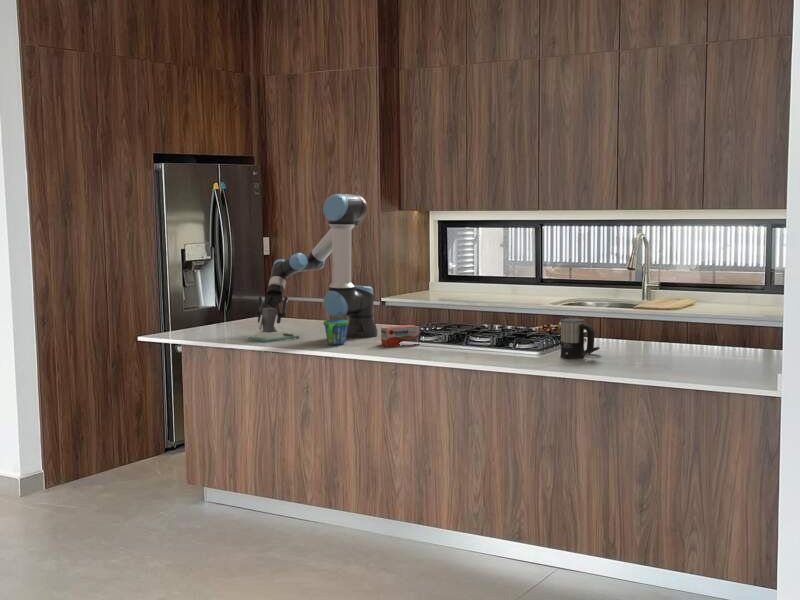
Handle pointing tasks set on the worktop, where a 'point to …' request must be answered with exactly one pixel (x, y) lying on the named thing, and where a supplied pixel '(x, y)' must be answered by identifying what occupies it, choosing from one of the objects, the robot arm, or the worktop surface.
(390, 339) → the medicine box
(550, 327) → the plate of food
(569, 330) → the milk frother
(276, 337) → the board
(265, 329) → the gray rounded block
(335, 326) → the snack cup
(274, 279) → the robot arm
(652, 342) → the worktop surface
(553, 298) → the worktop surface
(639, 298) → the worktop surface
